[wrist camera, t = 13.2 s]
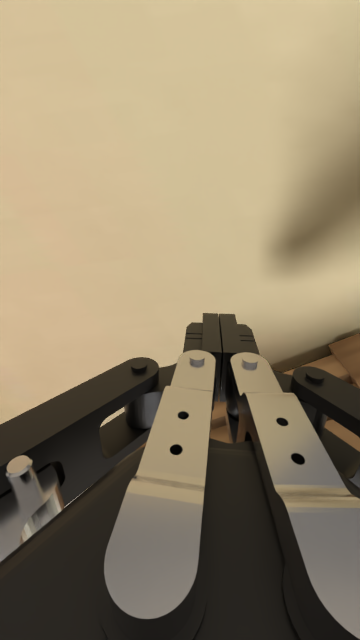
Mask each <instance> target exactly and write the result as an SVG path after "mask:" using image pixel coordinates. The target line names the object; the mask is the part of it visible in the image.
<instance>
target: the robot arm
mask: <svg viewBox="0 0 360 640" xmlns="http://www.w3.org/2000/svg"><path fill="white" fill-rule="evenodd" d="M218 394H219V400H220V402H226V414H225V419H226V424H227V430H228V435H229V441H230V443H225V442H222V441H218V440H215V439H211V438H210V433H211V420H212V411H213V410H214V402H215V401H217V402H218ZM123 407H124V409H125V412H123V413H122V414H120V415H119V416H117V417H116V418H114V419H113V420H111V421H110V422H108V423H106V424H105V425H103V426H102V427H100V426H101V424H102V422H103V421H104V420H105V419H106V418H107V417H108V416H110V415H111V414H113V413H115V412H116V411H118V410H119V409H121V408H123ZM327 417H329V418H331V419H332V420H334V421H336V422H337V423H339V424H340V425H342V426H343V427H345V428H346V429H348V430H349V431H351V432H352V433H354V434H355V435H357V436H358V437H359V438H360V389H359V388H357V387H355V386H353V385H351V384H349V383H347V382H345V381H344V380H342V379H340V378H338V377H336V376H334V375H332V374H330V373H328V372H327V371H324V370H322V369H320V368H316V367H311V366H301V367H298V368H296V369H295V370H294V371H293V374H292V375H288V374H284V373H280V372H277V371H274V370H272V369H271V367H270V365H269V363H268V361H267V360H266V359H265V358H264V357H262V356H260V354H259V351H258V348H257V345H256V342H255V339H254V336H253V332H252V330H251V329H250V328H249V327H248V326H247V325H243V324H237V322H236V318H235V314H219V317H218V314H213V313H203V323H191V324H190V325H189V326H188V327H187V329H186V336H185V343H184V350H183V354H181V355H180V357H179V359H178V362H177V363H176V364H174V365H171V366H167V367H161V368H159V366H158V364H157V362H156V361H154V360H152V359H149V358H143V357H139V358H133V359H130V360H128V361H126V362H124V363H122V364H120V365H118V366H116V367H114V368H112V369H110V370H108V371H106V372H104V373H102V374H100V375H98V376H96V377H94V378H92V379H90V380H88V381H86V382H84V383H82V384H80V385H78V386H76V387H74V388H72V389H70V390H68V391H66V392H64V393H62V394H60V395H58V396H56V397H54V398H52V399H50V400H48V401H46V402H44V403H42V404H40V405H39V406H37V407H35V408H33V409H31V410H29V411H27V412H25V413H23V414H21V415H19V416H17V417H15V418H13V419H11V420H9V421H7V422H5V423H3V424H1V425H0V640H360V452H359V451H358V450H356V449H355V448H354V447H352V446H351V445H349V444H348V443H346V442H345V441H343V440H342V439H341V438H339V437H338V436H336V435H335V434H333V433H332V432H331V431H329V430H328V429H326V428H325V424H326V420H327ZM146 442H147V443H146ZM144 443H146V446H145V447H142V448H140V449H138V448H139V447H141V446H142V445H143V444H144ZM137 449H138V450H137ZM135 450H136V451H135ZM92 484H93V485H92ZM91 485H92V486H91ZM87 488H88V489H87ZM86 489H87V490H86ZM85 490H86V491H85ZM82 492H83V493H82ZM81 493H82V494H81ZM80 494H81V495H80ZM79 495H80V496H79ZM77 496H79V497H77ZM76 497H77V498H76ZM75 498H76V499H75ZM73 499H75V500H74V501H72V500H73ZM71 501H72V502H71ZM70 502H71V503H70ZM68 503H70V504H69V505H68V506H67V507H65V506H66V505H67V504H68ZM64 507H65V508H64Z"/></svg>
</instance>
